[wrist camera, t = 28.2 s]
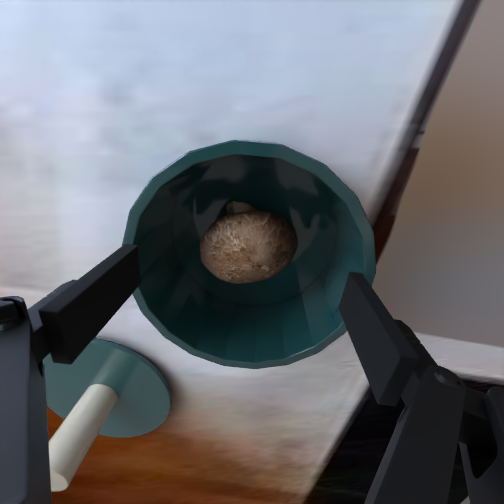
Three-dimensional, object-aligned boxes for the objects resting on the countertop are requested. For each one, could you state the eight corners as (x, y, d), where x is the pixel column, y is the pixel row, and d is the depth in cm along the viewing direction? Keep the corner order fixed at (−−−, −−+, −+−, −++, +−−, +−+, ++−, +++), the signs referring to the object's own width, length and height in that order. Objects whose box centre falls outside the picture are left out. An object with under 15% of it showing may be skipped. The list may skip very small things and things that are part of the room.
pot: (139, 167, 22) (76, 180, 15) (330, 117, 20) (367, 104, 13) (197, 318, 28) (173, 379, 21) (349, 293, 26) (381, 353, 19)
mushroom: (204, 172, 18) (214, 243, 15) (300, 183, 21) (325, 245, 18) (190, 238, 25) (196, 298, 21) (266, 239, 28) (281, 293, 24)
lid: (14, 345, 32) (-92, 430, 22) (141, 324, 29) (83, 410, 20) (81, 433, 38) (22, 528, 29) (190, 422, 36) (163, 522, 27)
